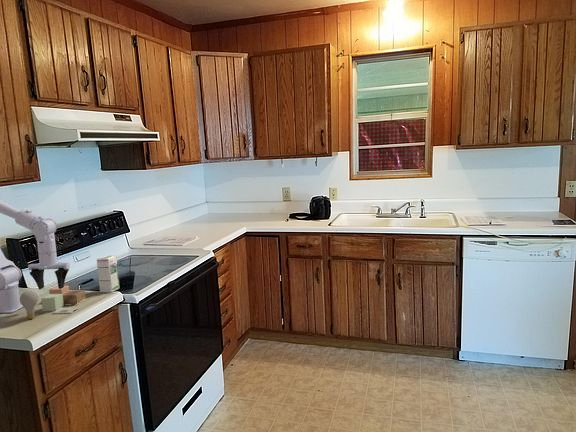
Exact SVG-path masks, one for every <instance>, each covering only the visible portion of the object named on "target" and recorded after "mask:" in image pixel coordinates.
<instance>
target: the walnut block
mask: <svg viewBox="0 0 576 432" xmlns="http://www.w3.org/2000/svg"><path fill="white" fill-rule="evenodd" d="M85 298H86V290H69V292H67V293H65V294H63V303H64V306H66V305H65V304H77V303H79V302H80V301H82V300H83V299H85ZM86 299H87V298H86Z"/></svg>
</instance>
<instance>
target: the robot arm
mask: <svg viewBox="0 0 576 432" xmlns="http://www.w3.org/2000/svg"><path fill="white" fill-rule="evenodd" d="M0 214H2V215H5V216H7V217H10V218H12V219H14V222H15V223H16V224H17V225H19V226H22V227H23V228H25V229H27V230H30V231H31V232H32V234H33V235H34V237H35V240H36V244H37V252H38V260H39V261H38V262H39V263H31V264H28V265H27V268H28V271H29V275H30V276H31V277H32V278H33V280H34V281H35V284H36V286H37V288H38V290H42V289H45V280H44V274H45V270H55V271H54V274H55V276H56V280H57V286H58V287H59V289H61V288H63V287H64V286H65V281H66V277H67V275H68V272H69V271H70V266H71V265H70V262H60V261H59V262H58V256H57V245H56V237H55V236H56V235H55V233H56V232H57V229H58V225H57V223H56V221H55V220H54V219H52V218H44V217H43V216H42V215H41V216H40V215H37V214H35V213H33V211H32V210H31V209H22V210H20V209H18V208H16V207H15V206H13V205H10V204H9V203H7V202H6V201H4V200H2V199H0ZM22 277H23V275H22V271H21V269H20V268H19V267H17V266H16V265H15V263H14V261H11V260H9V259H8V258H6V256H5V254H4V252H3V251H2V249H1V248H0V313H1V314H2V313H4V314H5V313H6V314H8V313H10V314H12V313H15V312H16V311H18V310H20V309H22V308H24V307H23V306H22V304H21V303H20V296H21V295H20V291H19V290H20V289H19V284H20V282H19V281H21V279H22Z"/></svg>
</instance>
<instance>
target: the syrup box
mask: <svg viewBox="0 0 576 432" xmlns="http://www.w3.org/2000/svg"><path fill="white" fill-rule="evenodd" d="M96 267H97V275H98V276H97V277H98V284H99V292H100V293H113V292H115V291H117V290H119V289H120V277H119V268H118V259H117V255H104V256H101V257H99V258H96Z"/></svg>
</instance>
